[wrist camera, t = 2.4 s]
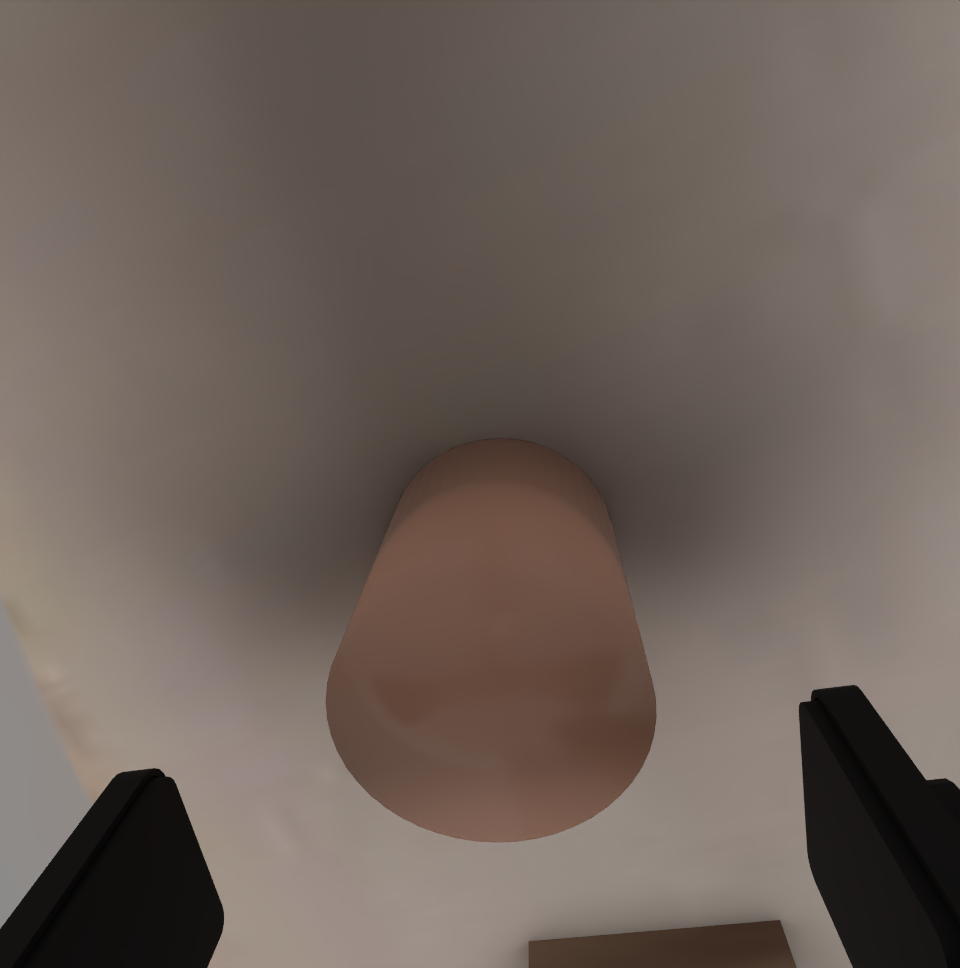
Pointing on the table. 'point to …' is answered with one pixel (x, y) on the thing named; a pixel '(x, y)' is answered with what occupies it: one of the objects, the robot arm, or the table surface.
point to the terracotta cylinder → (494, 652)
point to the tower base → (671, 949)
